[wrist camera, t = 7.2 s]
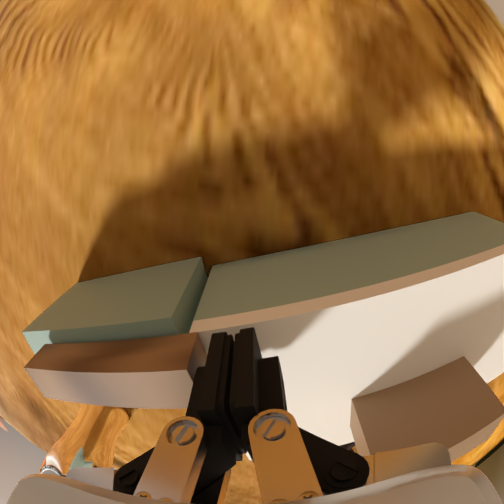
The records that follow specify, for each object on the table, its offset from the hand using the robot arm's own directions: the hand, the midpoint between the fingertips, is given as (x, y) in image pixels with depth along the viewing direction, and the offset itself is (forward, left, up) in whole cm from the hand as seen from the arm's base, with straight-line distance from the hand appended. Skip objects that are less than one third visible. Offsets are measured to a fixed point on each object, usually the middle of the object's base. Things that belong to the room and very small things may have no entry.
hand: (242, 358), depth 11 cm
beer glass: (+20, +14, -9) cm, 26 cm away
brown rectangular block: (+7, 0, -1) cm, 7 cm away
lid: (-9, +5, -3) cm, 11 cm away
